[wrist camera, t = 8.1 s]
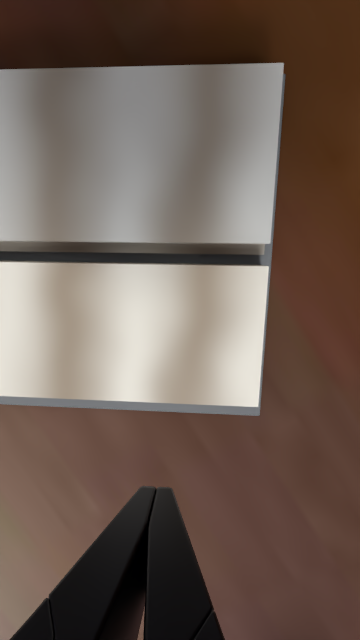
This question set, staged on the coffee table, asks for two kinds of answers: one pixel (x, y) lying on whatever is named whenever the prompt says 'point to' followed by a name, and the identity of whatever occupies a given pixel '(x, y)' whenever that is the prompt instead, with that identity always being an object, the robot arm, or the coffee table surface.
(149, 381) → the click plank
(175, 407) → the underlay mat
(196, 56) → the coffee table surface
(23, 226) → the plank
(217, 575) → the coffee table surface
